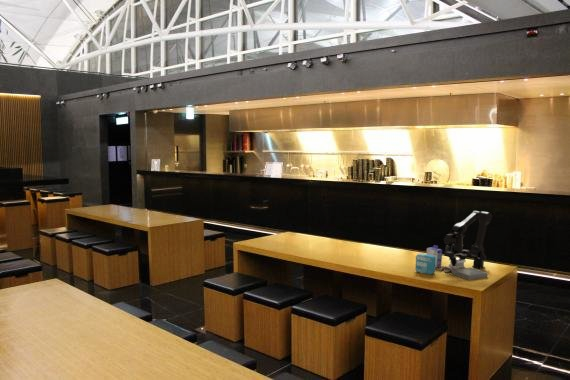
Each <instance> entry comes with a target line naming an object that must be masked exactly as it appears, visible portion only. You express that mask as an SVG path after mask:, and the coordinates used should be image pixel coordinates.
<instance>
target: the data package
mask: <svg viewBox="0 0 570 380" xmlns="http://www.w3.org/2000/svg"><path fill="white" fill-rule="evenodd" d="M435 260H436V258H435V256H433V255H427V253H418V254H416V255H415V269H414V270H415V271H416V272H417V273H419V274H420V273H421V274H427V275H433V274H434V273H436V267H435Z"/></svg>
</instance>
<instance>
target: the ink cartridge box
mask: <svg viewBox="0 0 570 380" xmlns="http://www.w3.org/2000/svg"><path fill="white" fill-rule="evenodd" d="M426 255H433V256H435V258H436V260H435V268H441V267H442V261H443V249H441V248H439V246H438V245H435V244H434V245H433V246H432V247H427V248H426Z"/></svg>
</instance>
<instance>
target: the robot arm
mask: <svg viewBox="0 0 570 380" xmlns="http://www.w3.org/2000/svg"><path fill="white" fill-rule="evenodd" d="M477 219H478V223H479V225H478V229H477V233H476V238H475V239H476V240H475V243H474V244H473V245H471V247H470V250H469V249H463V248H464V244H463V243H464V242H463V239H464V237H466V235H465V234H464V233H466V231H467V228H468V227H469V226H470V225H471V224H473V222H475V221H476V220H477ZM492 219H493V215H492V213H490V212H488V211H478V210H473V211H472V212H471V213H470V214H469V215H468V216H467V217H466V218H465V219H463V220H462V221H461V222H457V223H455V224H454V225H453V226H452V227H451V230H450V232H449V233H448V234H445V236H444V237H443V244H445V248H444V249H445V250H444V254H443V256H444V257H447V258H448V259H449V258H450V260H451V262H452V266H454V265H455V261H456V256H458V258H461V259H464V260H466V259H467V257H468V256H471V259H473V265H471V268H474V269H477V270H479V269H486V267H485V266H484V264H485V263H484V262H485V261H486V260H487V258H488V257H487V255H486V254H485V248H484V242H485V237H486V232H487V229H488V228H487V227H488V225H489V224H490V223H491V221H492ZM450 245H451V246H450ZM450 260H449V261H450Z"/></svg>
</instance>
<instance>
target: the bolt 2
mask: <svg viewBox="0 0 570 380" xmlns="http://www.w3.org/2000/svg"><path fill="white" fill-rule="evenodd" d="M452 270H453V269H450V270H446V269H445V270H443V271H444V273H445V274H447V273H452Z"/></svg>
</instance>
